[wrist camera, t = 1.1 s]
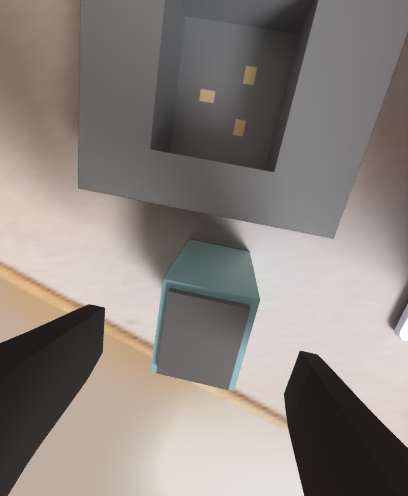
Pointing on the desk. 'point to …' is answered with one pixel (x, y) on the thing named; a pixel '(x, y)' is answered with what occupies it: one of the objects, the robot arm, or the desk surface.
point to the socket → (234, 103)
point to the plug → (206, 315)
